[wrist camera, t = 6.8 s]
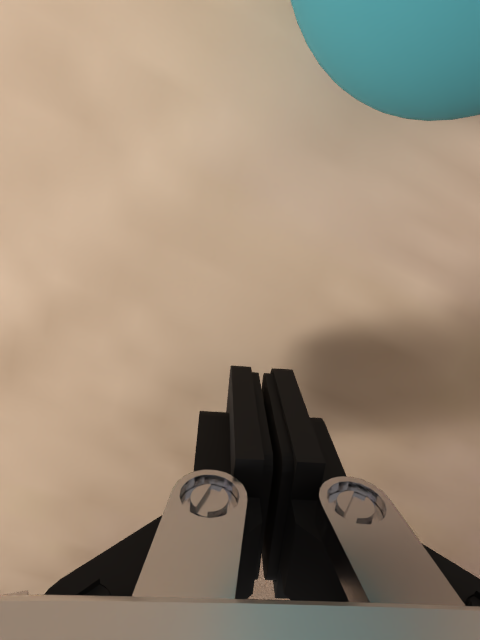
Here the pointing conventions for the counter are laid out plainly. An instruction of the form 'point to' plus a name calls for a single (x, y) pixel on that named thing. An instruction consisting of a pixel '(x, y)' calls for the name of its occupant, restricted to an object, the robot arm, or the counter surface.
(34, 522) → the counter surface
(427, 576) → the robot arm
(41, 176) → the counter surface
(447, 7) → the ball
